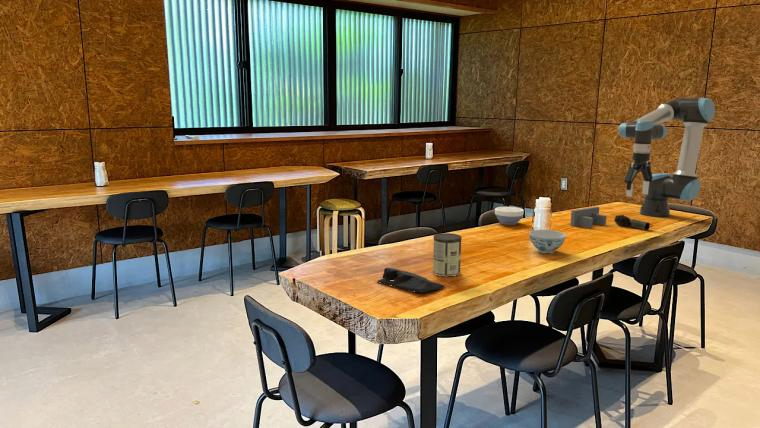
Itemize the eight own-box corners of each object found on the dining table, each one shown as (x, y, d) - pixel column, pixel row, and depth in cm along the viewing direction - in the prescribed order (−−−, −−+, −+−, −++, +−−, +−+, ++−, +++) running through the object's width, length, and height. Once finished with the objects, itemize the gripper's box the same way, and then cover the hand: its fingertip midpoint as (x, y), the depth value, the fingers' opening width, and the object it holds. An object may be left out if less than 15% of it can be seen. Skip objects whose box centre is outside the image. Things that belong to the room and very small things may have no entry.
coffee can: (443, 267, 212) (444, 231, 209) (465, 272, 205) (467, 236, 202) (426, 273, 205) (427, 236, 202) (449, 279, 198) (451, 241, 195)
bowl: (528, 223, 286) (529, 209, 285) (513, 228, 276) (514, 213, 274) (503, 219, 296) (504, 205, 295) (488, 223, 286) (489, 209, 284)
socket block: (594, 221, 293) (596, 206, 291) (609, 224, 285) (611, 209, 284) (570, 225, 282) (571, 210, 280) (585, 229, 275) (586, 213, 273)
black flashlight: (649, 230, 274) (651, 219, 273) (642, 232, 271) (643, 221, 269) (617, 223, 289) (618, 212, 287) (610, 225, 285) (610, 214, 284)
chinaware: (549, 245, 244) (550, 228, 242) (572, 254, 230) (573, 236, 229) (520, 248, 239) (521, 231, 237) (542, 257, 225) (543, 239, 223)
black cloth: (418, 299, 180) (418, 285, 178) (373, 282, 195) (373, 269, 194) (449, 288, 190) (449, 275, 189) (404, 273, 205) (404, 261, 204)
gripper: (633, 154, 259) (628, 198, 263) (663, 152, 272) (658, 194, 277) (619, 152, 265) (614, 196, 269) (649, 150, 279) (644, 192, 283)
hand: (636, 195), depth 273 cm, fingers open, 13 cm apart
